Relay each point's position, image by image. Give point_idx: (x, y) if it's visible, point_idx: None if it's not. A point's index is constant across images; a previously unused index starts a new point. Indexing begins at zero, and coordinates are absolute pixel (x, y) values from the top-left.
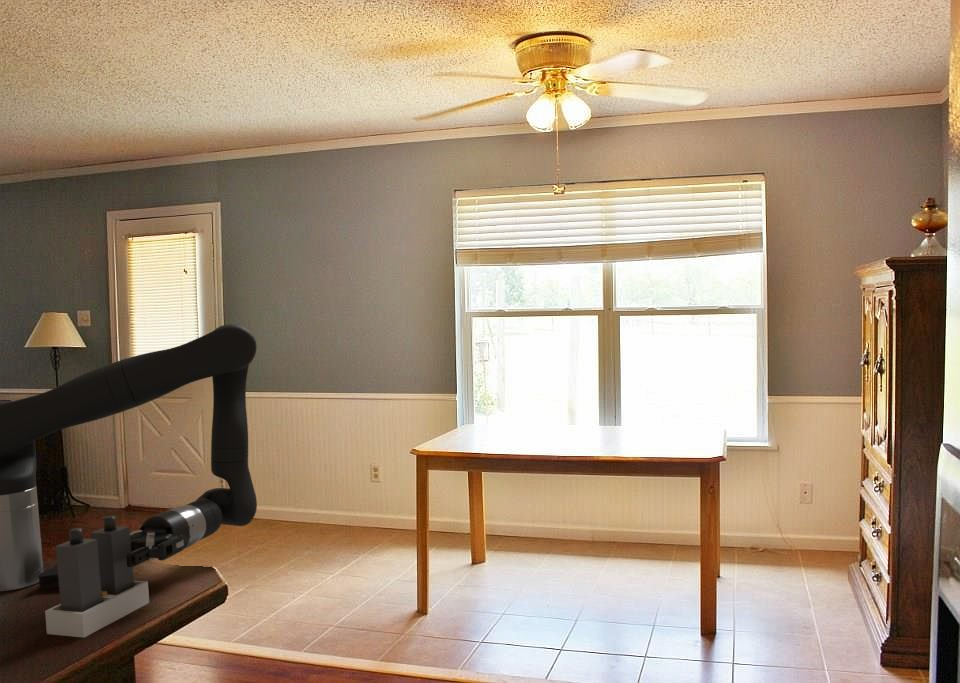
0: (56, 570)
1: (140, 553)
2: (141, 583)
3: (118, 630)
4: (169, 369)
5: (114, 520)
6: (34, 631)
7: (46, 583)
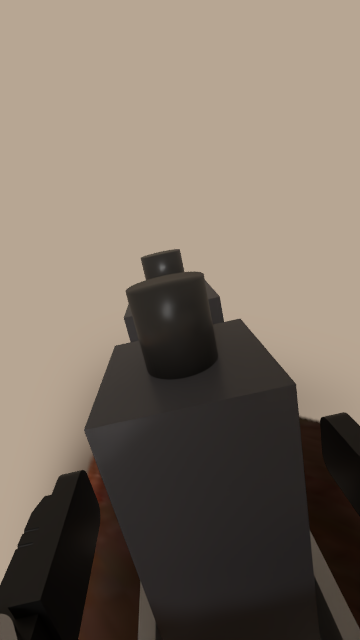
0: None
1: (27, 534)
2: None
3: (121, 540)
4: None
5: (131, 312)
6: (316, 454)
7: None
